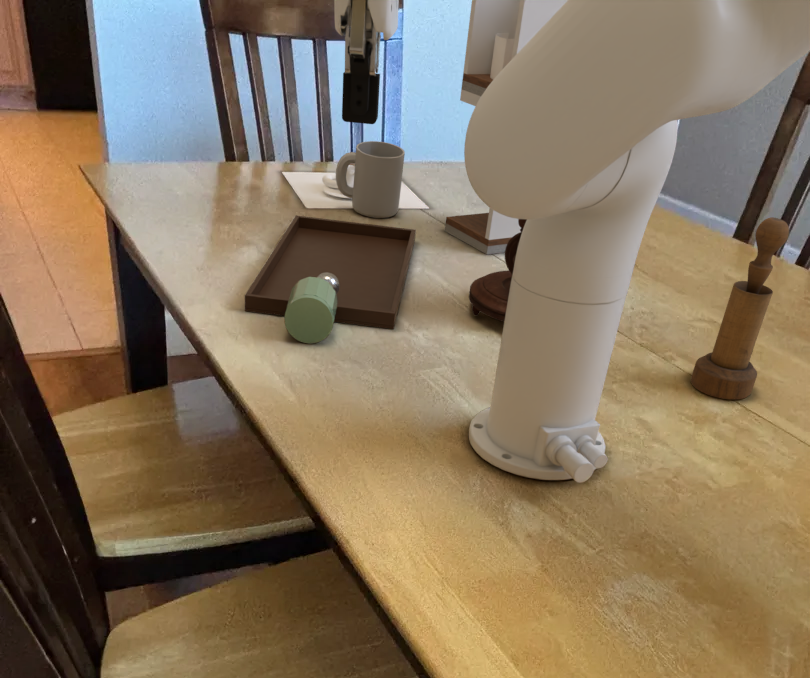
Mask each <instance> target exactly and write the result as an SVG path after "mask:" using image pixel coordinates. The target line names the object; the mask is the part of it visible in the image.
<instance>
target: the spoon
mask: <svg viewBox="0 0 810 678" xmlns="http://www.w3.org/2000/svg"><path fill="white" fill-rule="evenodd" d="M318 278H321V279H323V280H325V281H327V282H328V283H330V285H331V286H332V287H333V289H334V290H335V292H336V294H337V293H338V291H339V288H340V283H339V280H338V278H337V277H336V276H335V275H334V274H332V273H329V272H325V273H322V274H320V275H319V276H318Z"/></svg>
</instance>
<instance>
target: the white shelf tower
mask: <svg viewBox="0 0 810 678" xmlns="http://www.w3.org/2000/svg"><path fill="white" fill-rule="evenodd" d="M567 1H568V0H471V4H470V6H471V7H470V14H469V23H468V30H467V38H466V48H465V56H464V65H463V72H462V73H463V74H462V81H461V89H460V100H459V101H461V102H463V103H466V104H469V105H471V106H474V107H475V106H476V104H477V103H478V101H479V99H480V97H481V96H482V94H483V93H484V91H485V90H486V89H487V87H488V86H489V85H490V83H491V82H492V81H493V80H494V79H495V77H496V76H497V75H498V74H499V73H500V72H501V71H502V69H503V68H504V67H505V66H506V65H507V64H508V63H509V62H510V61H511V60H512V59H513V58H514V57H515V56H516V55H517V54H518V53H519V51H520V50H521V49H522V48H523V47H524V46H525V45H526V44H527V43H528V42H529V41H530V40H531V39H532V38H533V37H534V36H535V35H536V33H537V32H538V31H539V30H540V29H541V28H542V27H543V26H544V25H545V24H546V23H547V22H548V21H549V20H550V19H551V18H552V17H553V16H554V14H555V13H556V12H557V11H558V10H559V9H560V8H561V7H562V6H563V5H564V4H565V3H566V2H567ZM488 208H489V210H488V212H483V213H481V212H480V213H473V214H472V213H471V214H462V215H451V216H446V217H445V223H444V232H446V233H447V234H449V235H451V236H453V237H455V238H457V239H458V240H460V241H461V242H464V243H465V244H467V245H469V246H470V247H472V248H474V249H476V250H478V251H479V252H481V253H483V254H485V255H493V254H501V253H502V254H503V253H505V249H506V246H507V244H508V242H509V240H510V239H511V238H512V237H513V236H514V235H516V234H518V233H520V232H521V231H520V229H521V227H520V226H519V223H518V220H519V219H516V218H511V217H507V216H505V215H502V214H500V213H498V212H496V211H494V210H493V209H491V208H490V207H488Z"/></svg>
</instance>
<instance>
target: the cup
mask: <svg viewBox="0 0 810 678" xmlns="http://www.w3.org/2000/svg"><path fill="white" fill-rule="evenodd" d="M405 154H406V151H405V150H404V148H402V147H401V146H399V145H396V144H393V143H390V142H386V141H378V140H368V141H367V140H366V141H362V142H360V143H357V144H356V147H355V152H354V151H350V152H346V153H344V154H343V155H342V156H341V157H340V158H339V160H338V161H337V165H336V168H335V173H336V183H337V186H338V189H339V190H340V192H341V193H342V194H343V195H345V196H346V197H348V198H352V206H353V208H352V209H353V210H354V211H355V212H356V213H358V214H359V215H362V216H365V217H368V218H373V219H374V218H375V219H386V218H391V217H393V216H395V215H396V214H397V212H398V211H399V208H398V207H399V200H400V191H401V182H403V181H402V180H403V173H404V165H405ZM352 164H354V166H355V171H354V184H353V188H352V187H349V186H348V184H347V180H346V173H347V168H348V166H349V165H352Z"/></svg>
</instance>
